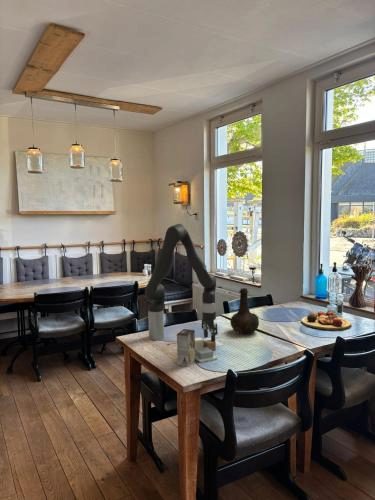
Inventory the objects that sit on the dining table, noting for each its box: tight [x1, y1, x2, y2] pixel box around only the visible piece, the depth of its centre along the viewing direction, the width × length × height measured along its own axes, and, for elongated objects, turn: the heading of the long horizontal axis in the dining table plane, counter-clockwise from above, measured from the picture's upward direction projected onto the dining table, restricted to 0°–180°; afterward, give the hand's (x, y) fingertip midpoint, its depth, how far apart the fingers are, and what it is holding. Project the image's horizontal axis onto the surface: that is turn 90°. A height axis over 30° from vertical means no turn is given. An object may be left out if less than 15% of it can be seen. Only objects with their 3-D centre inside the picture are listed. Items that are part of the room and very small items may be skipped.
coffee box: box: [176, 328, 196, 367], centre depth 192 cm, size 9×6×16 cm
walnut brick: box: [203, 339, 217, 352], centre depth 209 cm, size 5×5×5 cm
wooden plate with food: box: [300, 310, 352, 331], centre depth 256 cm, size 32×32×8 cm
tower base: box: [195, 347, 218, 363], centre depth 198 cm, size 10×10×4 cm
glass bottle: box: [229, 287, 260, 335], centre depth 239 cm, size 18×18×28 cm
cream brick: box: [195, 337, 205, 349], centre depth 213 cm, size 5×5×5 cm
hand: (209, 339), depth 208 cm, fingers open, 8 cm apart
